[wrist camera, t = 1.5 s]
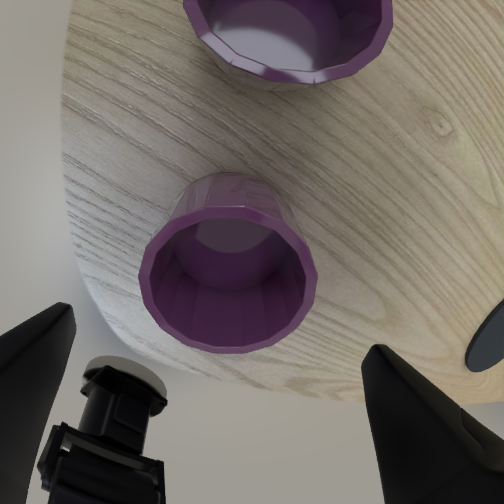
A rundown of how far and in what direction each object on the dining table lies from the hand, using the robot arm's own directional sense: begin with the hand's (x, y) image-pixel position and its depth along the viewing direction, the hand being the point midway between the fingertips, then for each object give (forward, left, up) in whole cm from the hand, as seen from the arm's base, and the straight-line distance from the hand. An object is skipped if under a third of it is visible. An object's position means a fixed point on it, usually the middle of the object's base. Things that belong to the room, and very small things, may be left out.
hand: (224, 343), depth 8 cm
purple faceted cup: (+8, +6, -7) cm, 12 cm away
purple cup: (0, 0, -7) cm, 7 cm away
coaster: (+11, -24, -7) cm, 27 cm away
